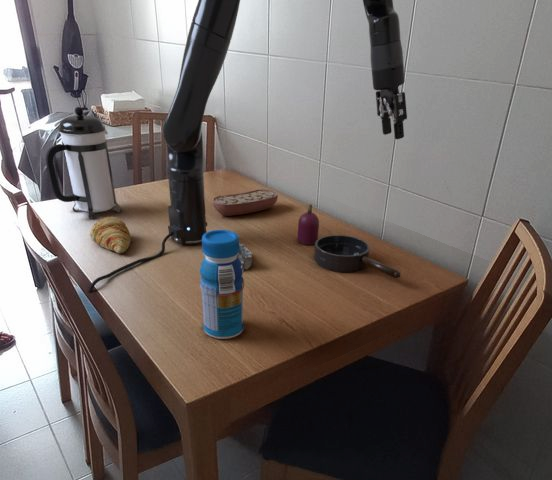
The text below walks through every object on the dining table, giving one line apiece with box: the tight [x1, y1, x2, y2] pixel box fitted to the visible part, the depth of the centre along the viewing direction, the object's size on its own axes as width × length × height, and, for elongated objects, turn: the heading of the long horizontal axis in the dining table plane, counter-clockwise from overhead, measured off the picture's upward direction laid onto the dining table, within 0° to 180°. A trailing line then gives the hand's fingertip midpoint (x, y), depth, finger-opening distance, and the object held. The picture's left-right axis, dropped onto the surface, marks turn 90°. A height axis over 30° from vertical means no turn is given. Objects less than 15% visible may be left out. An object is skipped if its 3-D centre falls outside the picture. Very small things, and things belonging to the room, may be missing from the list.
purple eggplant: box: [296, 203, 320, 246], centre depth 134 cm, size 6×6×11 cm
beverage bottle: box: [199, 229, 245, 340], centre depth 92 cm, size 8×8×20 cm
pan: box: [313, 234, 371, 273], centre depth 126 cm, size 14×14×4 cm
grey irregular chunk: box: [237, 243, 253, 270], centre depth 123 cm, size 11×8×4 cm
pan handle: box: [361, 257, 401, 279], centre depth 117 cm, size 12×2×2 cm, turn 40°
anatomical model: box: [212, 188, 279, 217], centre depth 155 cm, size 23×10×5 cm, turn 124°
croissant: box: [89, 215, 132, 254], centre depth 131 cm, size 21×10×8 cm, turn 32°
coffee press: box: [45, 106, 122, 220], centre depth 143 cm, size 17×16×30 cm
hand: (393, 136), depth 123 cm, fingers open, 8 cm apart
